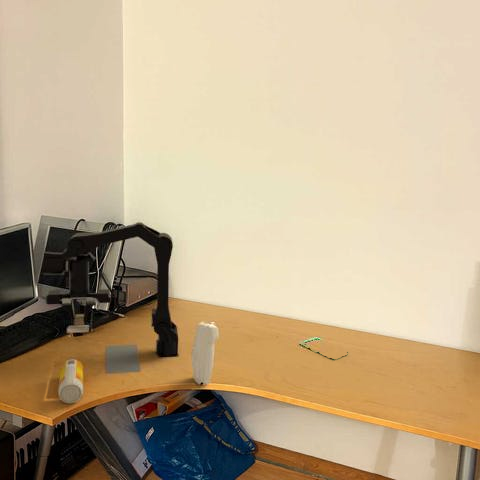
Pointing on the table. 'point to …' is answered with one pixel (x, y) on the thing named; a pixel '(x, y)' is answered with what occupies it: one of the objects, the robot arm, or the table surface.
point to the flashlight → (204, 351)
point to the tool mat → (122, 359)
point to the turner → (78, 325)
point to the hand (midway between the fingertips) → (79, 322)
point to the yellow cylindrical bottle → (71, 381)
